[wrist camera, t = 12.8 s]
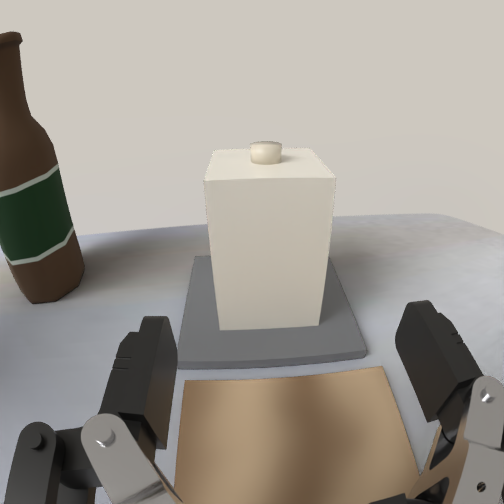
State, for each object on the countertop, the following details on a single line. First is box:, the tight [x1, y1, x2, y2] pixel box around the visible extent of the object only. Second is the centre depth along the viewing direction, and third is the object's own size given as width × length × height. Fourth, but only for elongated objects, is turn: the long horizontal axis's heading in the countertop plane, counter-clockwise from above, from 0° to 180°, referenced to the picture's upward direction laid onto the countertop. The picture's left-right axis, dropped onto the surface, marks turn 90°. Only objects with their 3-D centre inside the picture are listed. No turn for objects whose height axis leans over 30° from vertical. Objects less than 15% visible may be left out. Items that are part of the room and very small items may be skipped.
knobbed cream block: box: [204, 141, 336, 330], centre depth 20 cm, size 7×7×11 cm
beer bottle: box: [0, 32, 85, 304], centre depth 20 cm, size 8×8×24 cm
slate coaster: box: [177, 256, 367, 369], centre depth 24 cm, size 12×12×1 cm
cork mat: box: [174, 366, 420, 504], centre depth 12 cm, size 12×12×1 cm
